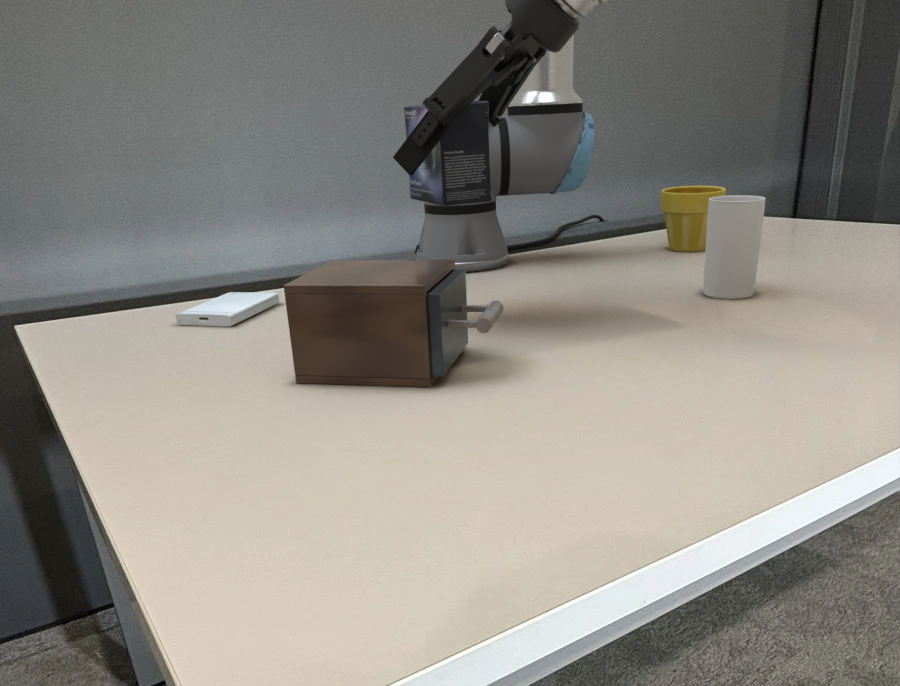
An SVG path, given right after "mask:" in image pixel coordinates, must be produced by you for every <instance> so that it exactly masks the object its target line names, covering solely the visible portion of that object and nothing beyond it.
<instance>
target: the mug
mask: <svg viewBox="0 0 900 686" xmlns="http://www.w3.org/2000/svg"><path fill="white" fill-rule="evenodd" d="M766 199H767V198H766V197H764V196H761V195H748V194H747V195H746V194H745V195H743V194H742V195H741V194H734V195H733V194H732V195H726V196H717V197H711V198H709V203H708V214H707V232H706V249H705V250H704V251H705V252H704V265H703V267H704V268H703V286H702V287H703V289H702V291H703V292H702V293H703V295H704V296H706V297H709V298H714V299H720V300H721V299H723V300H739V299H746V298H750V297H752V296H753V295H754V293H755V286H756V278H757V273H758V272H757V271H758V265H759V257H760V247H761V242H762V241H761V240H762V234H763V225H764V220H765V219H764V217H765V209H766Z"/></svg>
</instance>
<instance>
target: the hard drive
mask: <svg viewBox="0 0 900 686" xmlns="http://www.w3.org/2000/svg"><path fill="white" fill-rule="evenodd" d="M279 303H280V296H279V293H276V292H260V291H259V292H258V291H257V292H255V291H253V292H251V291H249V292H247V291H243V292H241V291H229V292H226V293H224V294H221V295H219V296H217V297H214V298H211V299H209V300H207V301H204V302H202V303H200V304H197V305H195V306H192V307H190V308H187V309H185V310H183V311H180V312H179V313H176V314H175V320H176V324H177V325H180V326H198V327H199V326H200V327H201V326H203V327H204V326H205V327H224V328H225V327H227V328H228V327H232V326H234V325H237V324H238V323H241V322H243V321H245V320H247V319H249V318H251V317H253V316H255V315H257V314H259V313H261V312H263V311H265V310H267V309H269V308H271V307H274V306H275V305H278V304H279Z"/></svg>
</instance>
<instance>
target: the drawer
mask: <svg viewBox="0 0 900 686" xmlns="http://www.w3.org/2000/svg"><path fill="white" fill-rule="evenodd" d="M466 274H467V272H465V270H454V271H452V272H451V273H450V274H449V275H448V276H447V277H446V278H445V279H444V280H442V281H441V280H440V281H439V282H438V283H437V284H436V285H435V286H433V287H432V288H431V289H430V290H429V291H428V292H427V302H428V319H429V337H430V354H431V371H432V376H438V377H445V376H446V374H447V373H448V371H449V370H450V369H451V367H452V366H453V364H454V363H455V362H456V360H457V359H458V358H459V356H460V355H461V353H462V352H463V351H464V349H465V348H466V346H467V345H468V344H469V329H472V328H473V329H476V330H477V331H478V332H479V333H480V334H488V333H489V332H490V331H491V330H492V328H493V327H494V325H495V324H496V322H497V321H498V319H499V318H500V316H501V315H502V313H503V312H504V307H505V306H504V304H503V303H502V302H501V301H500V300H496V299H495V300H492V301H491V302H490V303H489V304H488V305H487V304H468V302H467V300H468V299H467V275H466ZM468 313H481V314H480V316H479V317H478V319H468ZM468 328H469V329H468Z"/></svg>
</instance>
